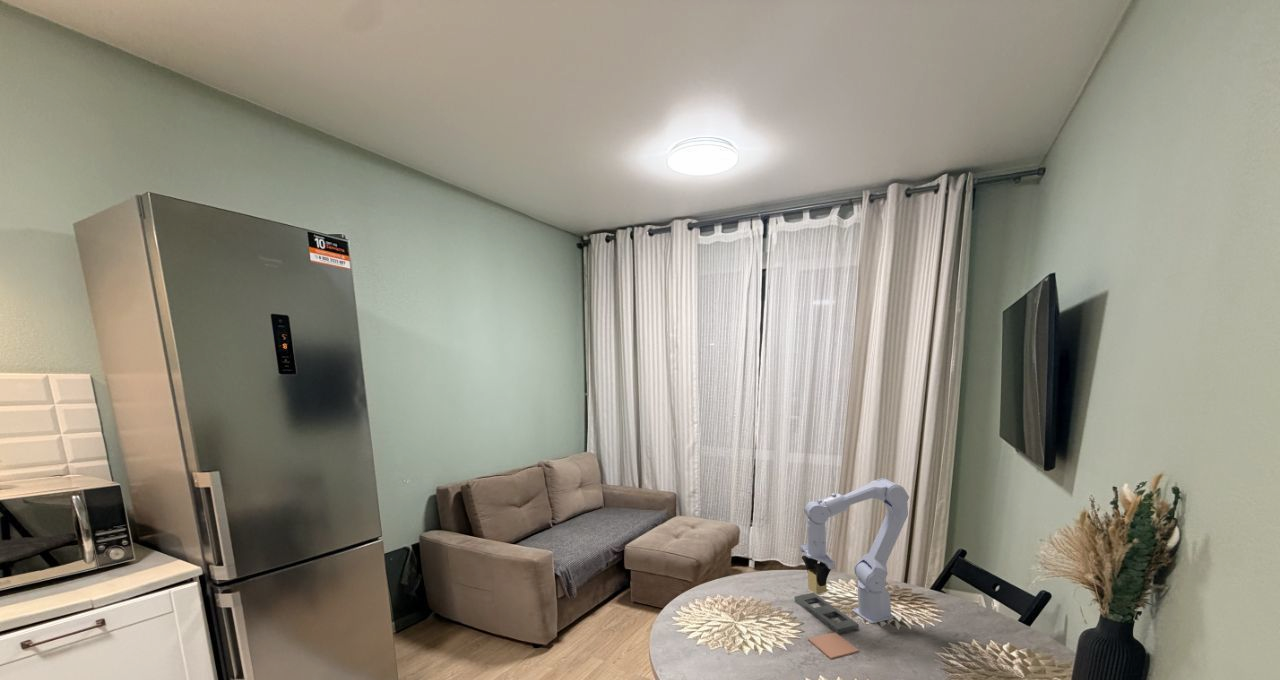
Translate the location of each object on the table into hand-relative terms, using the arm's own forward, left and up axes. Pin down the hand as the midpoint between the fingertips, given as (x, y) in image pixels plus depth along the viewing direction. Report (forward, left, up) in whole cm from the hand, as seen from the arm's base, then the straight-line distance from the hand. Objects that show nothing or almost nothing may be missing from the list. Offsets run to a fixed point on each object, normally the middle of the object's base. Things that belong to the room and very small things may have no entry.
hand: (817, 582), depth 146 cm
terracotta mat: (+8, +15, -10) cm, 20 cm away
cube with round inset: (0, 0, -3) cm, 3 cm away
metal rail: (-2, +1, -10) cm, 10 cm away
